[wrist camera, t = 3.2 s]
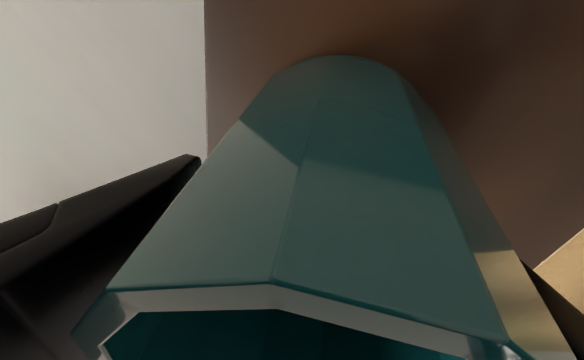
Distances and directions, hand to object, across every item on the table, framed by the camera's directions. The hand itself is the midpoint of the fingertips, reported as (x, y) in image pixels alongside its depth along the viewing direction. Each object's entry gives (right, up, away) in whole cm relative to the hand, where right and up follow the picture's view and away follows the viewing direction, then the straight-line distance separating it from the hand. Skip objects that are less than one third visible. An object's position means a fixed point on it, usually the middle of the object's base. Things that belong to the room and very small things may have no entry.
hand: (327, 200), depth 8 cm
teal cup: (0, +2, +2) cm, 3 cm away
